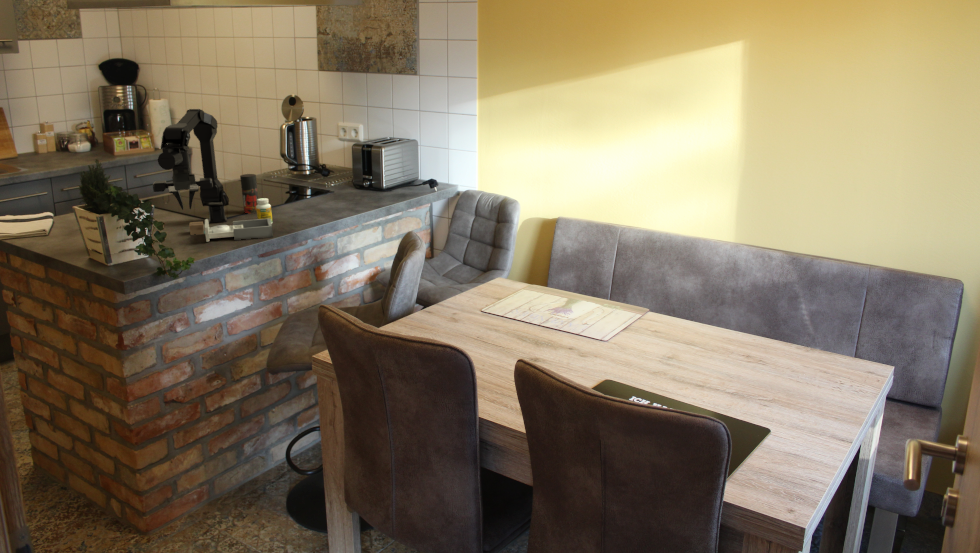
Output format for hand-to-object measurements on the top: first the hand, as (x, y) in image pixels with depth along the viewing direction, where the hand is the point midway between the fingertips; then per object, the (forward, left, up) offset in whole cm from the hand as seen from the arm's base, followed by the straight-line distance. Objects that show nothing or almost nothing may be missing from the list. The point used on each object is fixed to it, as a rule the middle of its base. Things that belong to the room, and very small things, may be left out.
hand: (186, 209), depth 252 cm
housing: (0, +21, -11) cm, 24 cm away
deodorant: (-35, +22, -11) cm, 43 cm away
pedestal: (-9, +2, -11) cm, 14 cm away
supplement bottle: (-14, +26, -11) cm, 32 cm away
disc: (0, +10, -9) cm, 14 cm away
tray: (0, +11, -10) cm, 15 cm away
